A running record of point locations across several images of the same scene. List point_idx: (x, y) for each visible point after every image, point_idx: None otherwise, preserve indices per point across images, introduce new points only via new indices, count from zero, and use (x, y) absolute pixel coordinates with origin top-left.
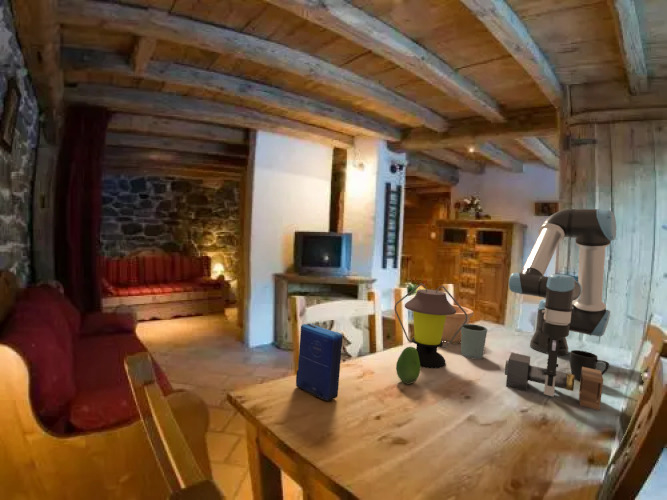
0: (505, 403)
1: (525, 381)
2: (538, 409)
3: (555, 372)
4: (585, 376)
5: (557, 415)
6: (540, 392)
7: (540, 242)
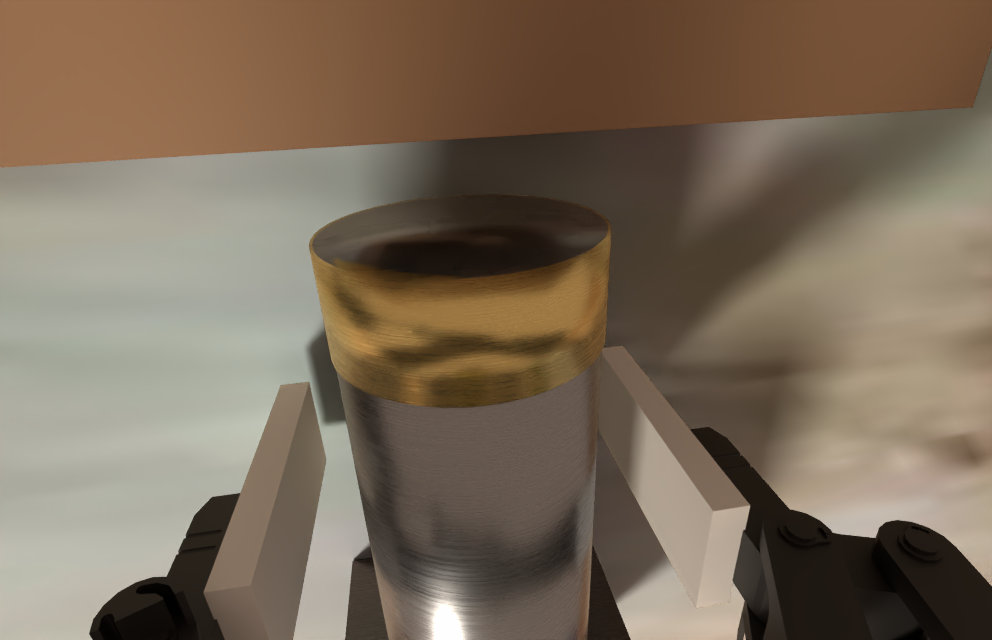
0: None
1: (614, 609)
2: (904, 387)
3: (986, 585)
4: (971, 41)
5: (964, 259)
6: None
7: None
